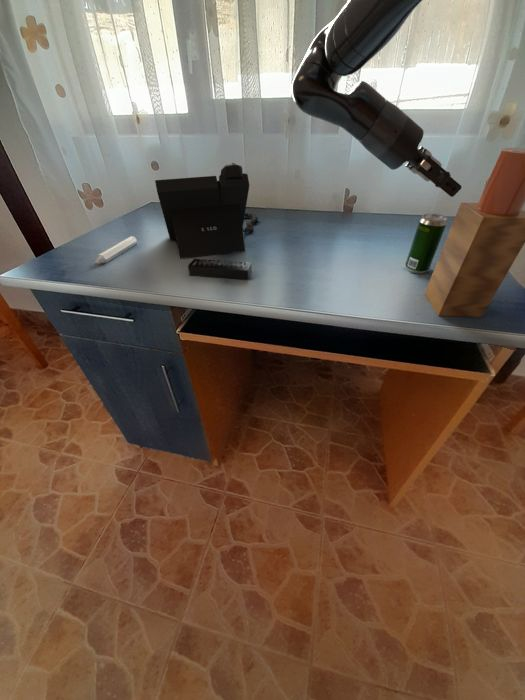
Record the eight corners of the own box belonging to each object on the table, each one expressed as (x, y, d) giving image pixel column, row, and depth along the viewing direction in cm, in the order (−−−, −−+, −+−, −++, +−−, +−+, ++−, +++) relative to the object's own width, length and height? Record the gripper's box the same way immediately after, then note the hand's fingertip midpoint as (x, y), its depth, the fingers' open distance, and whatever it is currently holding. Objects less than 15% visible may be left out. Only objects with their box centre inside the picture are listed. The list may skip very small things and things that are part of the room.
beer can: (422, 276, 69) (442, 223, 61) (400, 269, 72) (416, 217, 64) (432, 269, 72) (452, 217, 64) (410, 262, 74) (427, 211, 67)
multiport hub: (248, 280, 68) (247, 270, 67) (188, 275, 70) (187, 266, 69) (252, 271, 71) (251, 262, 70) (195, 267, 73) (193, 258, 72)
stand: (463, 295, 62) (509, 203, 50) (481, 317, 56) (539, 218, 44) (424, 294, 63) (460, 202, 51) (438, 315, 57) (483, 217, 45)
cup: (506, 204, 50) (535, 147, 44) (528, 216, 45) (562, 153, 40) (469, 204, 50) (493, 147, 45) (487, 215, 46) (515, 153, 40)
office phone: (255, 216, 103) (253, 146, 90) (279, 247, 82) (282, 162, 69) (168, 224, 97) (153, 151, 84) (171, 259, 77) (152, 170, 64)
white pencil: (96, 270, 74) (134, 245, 86) (100, 267, 73) (138, 242, 85) (88, 261, 73) (128, 237, 84) (92, 258, 72) (132, 234, 83)
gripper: (416, 118, 48) (482, 176, 52) (396, 110, 58) (452, 160, 63) (381, 164, 53) (444, 214, 57) (368, 149, 63) (423, 193, 68)
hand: (448, 186), depth 60 cm, fingers open, 8 cm apart
